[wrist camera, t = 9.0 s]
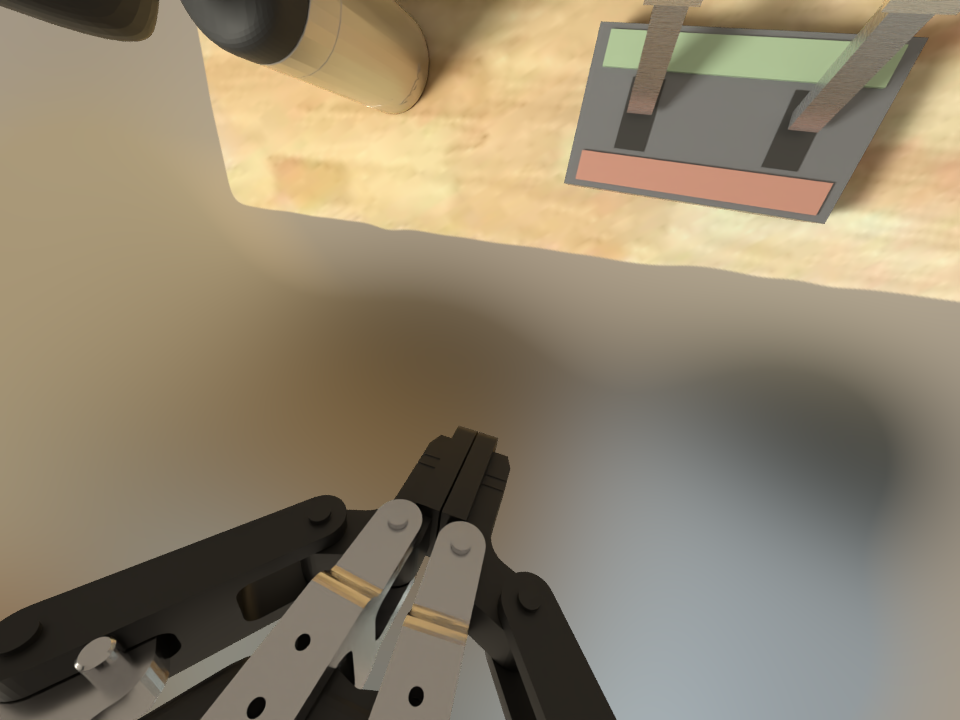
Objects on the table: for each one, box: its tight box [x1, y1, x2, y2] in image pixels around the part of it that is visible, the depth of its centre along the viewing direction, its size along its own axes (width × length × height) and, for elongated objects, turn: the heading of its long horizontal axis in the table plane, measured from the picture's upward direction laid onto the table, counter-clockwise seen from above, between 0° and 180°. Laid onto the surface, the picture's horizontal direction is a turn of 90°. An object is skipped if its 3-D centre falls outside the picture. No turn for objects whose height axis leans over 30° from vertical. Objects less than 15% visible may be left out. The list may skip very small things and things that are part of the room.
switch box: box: [564, 22, 928, 224], centre depth 31 cm, size 12×22×4 cm, turn 81°
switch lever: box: [788, 0, 960, 133], centre depth 21 cm, size 2×3×11 cm
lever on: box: [627, 0, 703, 115], centre depth 24 cm, size 2×3×11 cm
